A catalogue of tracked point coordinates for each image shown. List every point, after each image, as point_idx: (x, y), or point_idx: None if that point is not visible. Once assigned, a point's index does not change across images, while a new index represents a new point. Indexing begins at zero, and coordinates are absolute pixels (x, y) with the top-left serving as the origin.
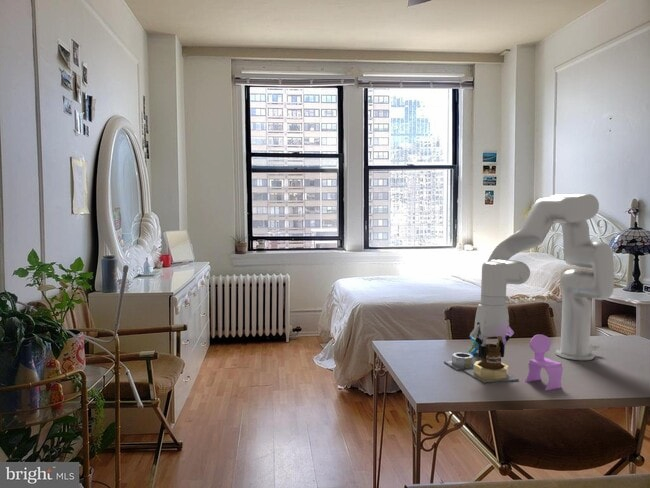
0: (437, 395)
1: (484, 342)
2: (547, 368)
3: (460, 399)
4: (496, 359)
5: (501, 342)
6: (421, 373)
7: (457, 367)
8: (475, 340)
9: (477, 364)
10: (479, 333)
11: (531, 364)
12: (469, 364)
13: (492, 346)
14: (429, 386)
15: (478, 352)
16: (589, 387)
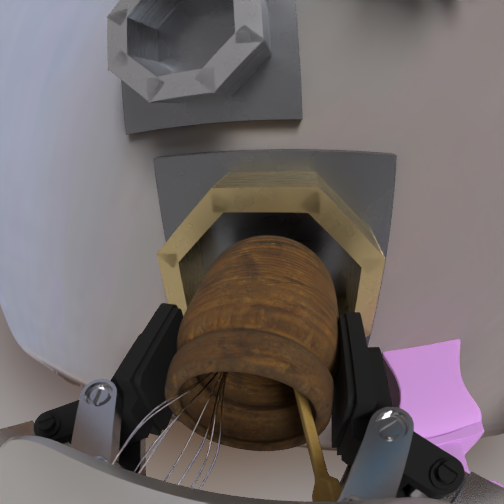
0: (42, 340)
1: (131, 456)
2: None
3: (88, 378)
4: (260, 385)
5: (346, 459)
6: (5, 157)
7: (135, 105)
8: (56, 417)
9: (184, 255)
10: (63, 454)
11: None
12: (212, 96)
13: (299, 362)
14: (22, 283)
15: (136, 340)
16: (491, 403)
